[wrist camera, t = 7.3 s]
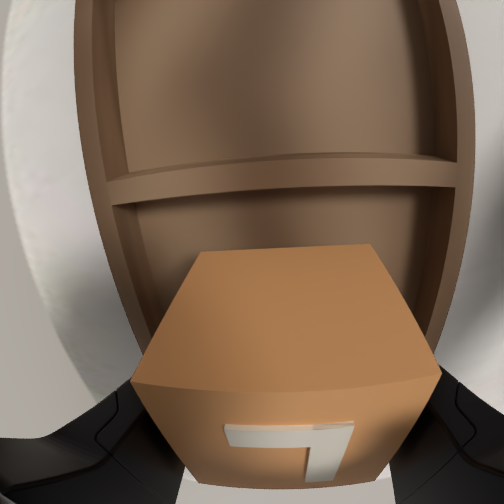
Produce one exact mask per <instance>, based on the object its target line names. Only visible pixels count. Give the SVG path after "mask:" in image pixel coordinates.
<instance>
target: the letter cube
mask: <svg viewBox="0 0 504 504" xmlns="http://www.w3.org/2000/svg"><path fill="white" fill-rule="evenodd" d="M441 375H442V372H441V370H440V368H439V365H438V363H437V361H436V359H435V357H434V355H433V353H432V351H431V349H430V347H429V345H428V343H427V341H426V339H425V337H424V335H423V333H422V331H421V329H420V327H419V326H418V324H417V322H416V320H415V318H414V316H413V314H412V313H411V311H410V309H409V307H408V305H407V304H406V302H405V300H404V298H403V297H402V295H401V293H400V291H399V290H398V288H397V286H396V285H395V283H394V281H393V280H392V278H391V276H390V275H389V273H388V271H387V270H386V268H385V266H384V265H383V263H382V262H381V260H380V258H379V257H378V255H377V254H376V252H375V251H374V249H373V247H372V246H371V244H356V245H333V246H311V247H290V248H268V249H247V250H226V251H205V252H200V254H199V256H198V257H197V259H196V261H195V262H194V264H193V266H192V268H191V269H190V271H189V273H188V275H187V276H186V278H185V280H184V282H183V283H182V285H181V287H180V289H179V290H178V292H177V294H176V296H175V298H174V299H173V301H172V303H171V305H170V307H169V308H168V310H167V312H166V314H165V316H164V318H163V319H162V321H161V323H160V325H159V327H158V329H157V330H156V332H155V334H154V336H153V338H152V340H151V342H150V344H149V345H148V347H147V349H146V351H145V353H144V355H143V357H142V359H141V361H140V363H139V365H138V367H137V368H136V370H135V372H134V374H133V376H132V378H131V380H130V382H131V384H132V386H133V388H134V389H135V391H136V393H137V395H138V396H139V398H140V400H141V401H142V403H143V405H144V406H145V408H146V410H147V411H148V413H149V414H150V416H151V418H152V419H153V421H154V422H155V424H156V425H157V427H158V428H159V430H160V431H161V433H162V434H163V436H164V437H165V439H166V440H167V442H168V443H169V444H170V446H171V447H172V449H173V450H174V451H175V453H176V454H177V456H178V457H179V458H180V460H181V461H182V462H183V464H184V465H185V466H186V468H187V469H188V470H189V471H190V473H191V474H192V475H193V476H194V478H195V479H196V480H197V481H198V483H202V484H209V485H217V486H226V487H237V488H253V489H308V488H323V487H334V486H343V485H351V484H358V483H365V482H371V481H375V480H376V478H377V477H378V476H379V475H380V473H381V472H382V471H383V469H384V468H385V467H386V465H387V464H388V463H389V461H390V460H391V459H392V457H393V456H394V454H395V453H396V452H397V450H398V449H399V447H400V446H401V444H402V443H403V441H404V440H405V438H406V437H407V435H408V434H409V432H410V431H411V429H412V427H413V426H414V424H415V422H416V421H417V419H418V417H419V416H420V414H421V412H422V411H423V409H424V407H425V405H426V404H427V402H428V400H429V398H430V396H431V394H432V392H433V391H434V389H435V387H436V385H437V383H438V381H439V379H440V377H441Z"/></svg>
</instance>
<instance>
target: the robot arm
mask: <svg viewBox="0 0 504 504" xmlns="http://www.w3.org/2000/svg"><path fill="white" fill-rule="evenodd" d="M438 365H439V364H438ZM439 368H440V370H441V372H442V375H441V377H440V379H439V381H438V383H437V385H436V387H435V389H434V391H433V392H432V394H431V396H430V398H429V400H428V402H427V404H426V405H425V407H424V409H423V411H422V412H421V414H420V416H419V417H418V419H417V421H416V422H415V424H414V426H413V427H412V429H411V431H410V432H409V434H408V435H407V437H406V438H405V440H404V441H403V443H402V444H401V446H400V447H399V449H398V450H397V452H396V453H395V454H394V456H393V457H392V459H391V460H390V461H389V465H390V471H391V477H392V482H393V488H394V495H395V502H396V504H504V415H503V414H502V413H500V412H499V411H497V410H496V409H494V408H493V407H491V406H490V405H489V404H487V403H486V402H484V401H483V400H482V399H480V398H479V397H478V396H476V395H475V394H474V393H473V392H471V391H470V390H469V389H468V388H466V387H465V386H464V385H463V384H462V383H460V382H458V380H457V379H456V378H454V377H453V376H452V375H451V374H450V373H448V372H447V371H446V370H445V369H444V368H442V367H441V366H440V365H439ZM131 378H132V377H131ZM131 378H130V379H129V380H127V381H126V382H125V383H124V384H122V385H121V386H120V387H119V388H118V389H117V390H116V391H114V392H112V393H111V394H110V395H109V396H107V397H106V398H105V399H104V400H102V401H101V402H100V403H98V404H97V405H96V406H95V407H93V408H91V409H90V410H88V411H87V412H85V413H84V414H82V415H81V416H79V417H78V418H76V419H75V420H73V421H71V422H70V423H68V424H66V425H65V426H64V427H62V428H60V429H58V430H57V431H55V432H53V433H52V434H50V435H47V436H45V437H41V438H35V439H17V438H0V504H175V503H176V499H177V495H178V491H179V488H180V484H181V480H182V476H183V473H184V469H185V465H184V464H183V462H182V461H181V460H180V458H179V457H178V456H177V454H176V453H175V451H174V450H173V449H172V447H171V446H170V444H169V443H168V442H167V440H166V439H165V437H164V436H163V434H162V433H161V431H160V430H159V428H158V427H157V425H156V424H155V422H154V421H153V419H152V418H151V416H150V414H149V413H148V411H147V410H146V408H145V406H144V405H143V403H142V401H141V400H140V398H139V396H138V395H137V393H136V391H135V389H134V388H133V386H132V384H131V382H130V380H131Z"/></svg>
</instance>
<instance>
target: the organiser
mask: <svg viewBox="0 0 504 504" xmlns="http://www.w3.org/2000/svg"><path fill="white" fill-rule="evenodd" d="M74 75H75V92H76V104H77V114H78V123H79V131H80V138H81V145H82V152H83V158H84V164H85V169H86V175H87V180H88V185H89V190H90V194H91V199H92V203H93V207H94V212H95V216H96V220H97V224H98V228H99V231H100V235H101V239H102V242H103V246H104V249H105V253H106V256H107V259H108V263H109V266H110V269H111V272H112V275H113V278H114V281H115V284H116V287H117V290H118V293H119V296H120V299H121V301H122V304H123V307H124V310H125V312H126V315H127V317H128V320H129V323H130V325H131V328H132V330H133V333H134V335H135V337H136V340H137V342H138V345H139V347H140V349H141V352H142V354H143V355H144V353H145V351H146V349H147V347H148V345H149V344H150V342H151V340H152V338H153V336H154V334H155V332H156V330H157V329H158V327H159V325H160V323H161V321H162V319H163V318H164V316H165V314H166V312H167V310H168V308H169V307H170V305H171V303H172V301H173V299H174V298H175V296H176V294H177V292H178V290H179V289H180V287H181V285H182V283H183V282H184V280H185V278H186V276H187V275H188V273H189V271H190V269H191V268H192V266H193V264H194V262H195V261H196V259H197V257H198V256H199V254H200V252H205V251H226V250H247V249H268V248H290V247H311V246H333V245H356V244H371V246H372V247H373V249H374V251H375V252H376V254H377V255H378V257H379V258H380V260H381V262H382V263H383V265H384V266H385V268H386V270H387V271H388V273H389V275H390V276H391V278H392V280H393V281H394V283H395V285H396V286H397V288H398V290H399V291H400V293H401V295H402V297H403V298H404V300H405V302H406V304H407V305H408V307H409V309H410V311H411V313H412V314H413V316H414V318H415V320H416V322H417V324H418V326H419V327H420V329H421V331H422V333H423V335H424V337H425V339H426V341H427V343H428V345H429V347H430V349H431V351H432V353H433V354H434V351H435V349H436V346H437V344H438V341H439V338H440V335H441V332H442V330H443V327H444V324H445V321H446V318H447V315H448V311H449V308H450V305H451V301H452V298H453V294H454V291H455V287H456V283H457V279H458V275H459V271H460V267H461V262H462V258H463V253H464V248H465V243H466V237H467V231H468V225H469V218H470V211H471V203H472V194H473V183H474V168H475V109H474V95H473V84H472V75H471V68H470V61H469V55H468V49H467V44H466V39H465V34H464V29H463V25H462V21H461V17H460V13H459V9H458V6H457V2H456V0H76V3H75V19H74Z"/></svg>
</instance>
